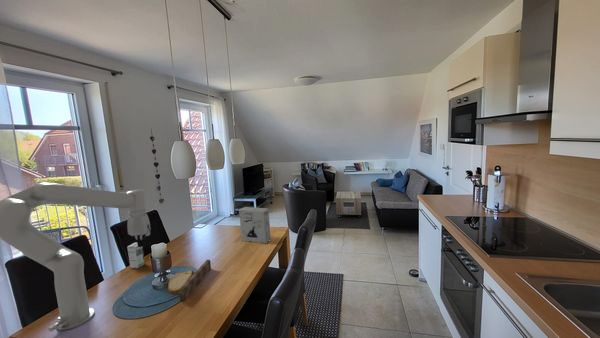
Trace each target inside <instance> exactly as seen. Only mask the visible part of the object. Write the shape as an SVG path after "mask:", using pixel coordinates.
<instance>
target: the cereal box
mask: <svg viewBox="0 0 600 338" xmlns="http://www.w3.org/2000/svg"><path fill="white" fill-rule="evenodd" d="M238 211H239V212H238V214H239V226H240V235H241V237H240V238H241V241H242V240H244V241H243V242H246V241H252V242H251V243H254V242H260V243H259V244H261V243H266V244H268V243H269V242H270V241H271V240H270V239H271V228H270V227H271V226H270V225H271V224H270V209H269V208H267V207H265V208H264V207H252V206H250V207H249V206H244V207H242V208H240V209H238ZM269 240H270V241H269ZM268 241H269V242H268ZM267 242H268V243H267Z"/></svg>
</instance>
